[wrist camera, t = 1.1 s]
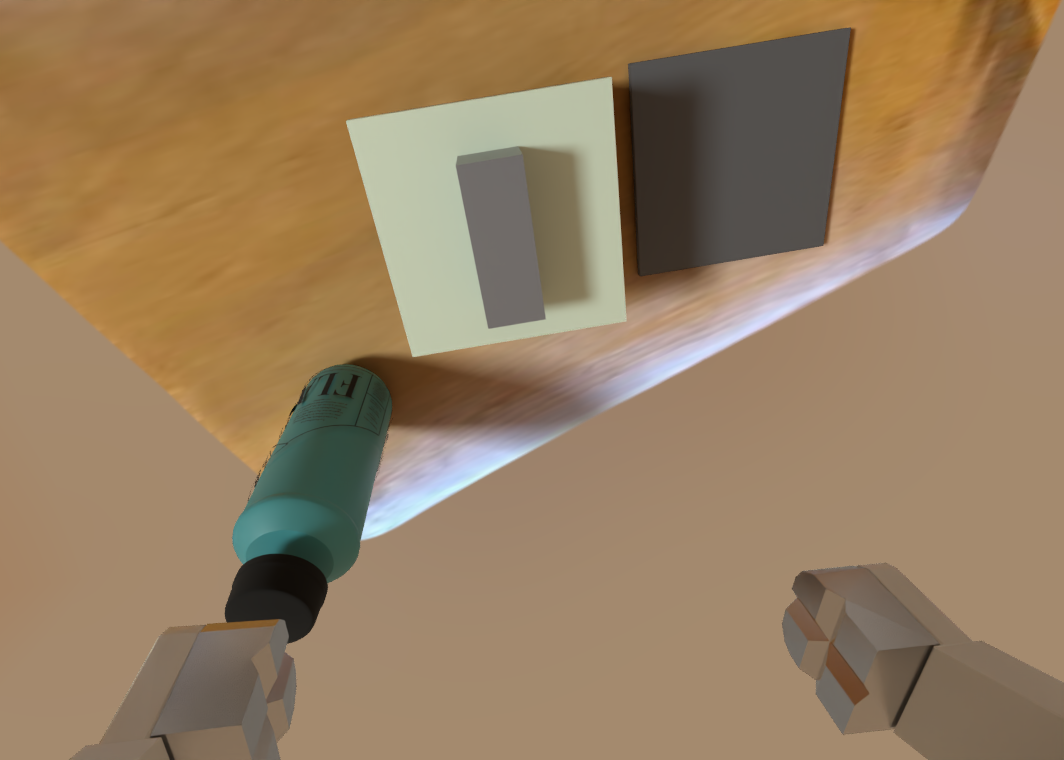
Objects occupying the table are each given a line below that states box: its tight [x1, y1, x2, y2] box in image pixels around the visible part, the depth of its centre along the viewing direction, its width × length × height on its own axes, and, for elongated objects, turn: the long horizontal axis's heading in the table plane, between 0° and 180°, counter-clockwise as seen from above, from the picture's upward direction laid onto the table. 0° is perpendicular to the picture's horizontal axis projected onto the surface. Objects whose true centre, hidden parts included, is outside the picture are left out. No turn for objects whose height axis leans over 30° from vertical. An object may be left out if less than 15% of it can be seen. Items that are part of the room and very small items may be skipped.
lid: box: [346, 77, 626, 357], centre depth 28 cm, size 13×13×5 cm
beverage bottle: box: [225, 364, 393, 644], centre depth 33 cm, size 6×7×20 cm
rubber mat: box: [628, 28, 851, 276], centre depth 36 cm, size 13×13×1 cm
